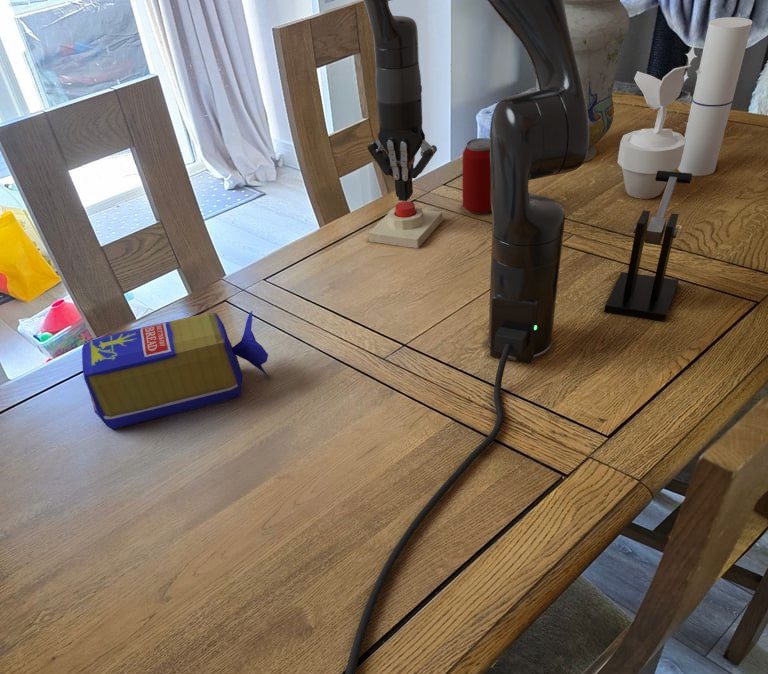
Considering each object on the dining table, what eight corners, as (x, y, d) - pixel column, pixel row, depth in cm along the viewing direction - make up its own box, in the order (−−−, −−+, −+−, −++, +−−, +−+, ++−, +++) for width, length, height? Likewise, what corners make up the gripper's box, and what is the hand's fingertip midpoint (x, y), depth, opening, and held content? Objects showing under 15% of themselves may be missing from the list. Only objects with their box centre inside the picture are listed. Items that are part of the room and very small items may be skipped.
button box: (417, 248, 127) (417, 229, 125) (369, 241, 131) (367, 223, 128) (442, 220, 134) (442, 202, 132) (396, 214, 138) (394, 196, 135)
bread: (100, 397, 103) (72, 336, 95) (264, 357, 106) (249, 295, 99) (102, 438, 96) (72, 376, 88) (277, 393, 100) (262, 330, 92)
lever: (656, 179, 107) (658, 165, 105) (690, 182, 105) (693, 168, 103) (634, 241, 103) (636, 229, 101) (669, 246, 101) (672, 233, 99)
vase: (622, 145, 153) (648, -24, 132) (592, 175, 144) (616, -2, 122) (545, 135, 161) (558, -26, 139) (512, 163, 151) (521, -6, 129)
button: (410, 220, 129) (409, 210, 127) (392, 217, 130) (392, 208, 129) (418, 211, 131) (417, 202, 129) (400, 209, 132) (400, 200, 131)
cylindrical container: (677, 175, 140) (709, 27, 122) (677, 161, 145) (708, 17, 127) (715, 176, 138) (753, 26, 120) (714, 162, 143) (751, 16, 125)
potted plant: (687, 196, 133) (723, 43, 115) (636, 210, 131) (664, 56, 113) (646, 175, 141) (674, 29, 123) (597, 188, 139) (618, 40, 121)
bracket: (620, 278, 114) (634, 199, 105) (677, 286, 111) (697, 206, 102) (604, 312, 108) (617, 231, 98) (664, 321, 104) (684, 239, 95)
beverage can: (496, 200, 139) (499, 135, 130) (497, 215, 134) (499, 149, 125) (462, 201, 140) (463, 137, 131) (462, 216, 135) (462, 150, 126)
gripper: (353, 99, 116) (363, 203, 128) (426, 103, 111) (429, 211, 124) (373, 85, 120) (381, 187, 133) (444, 89, 116) (445, 194, 128)
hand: (404, 199), depth 128 cm, fingers closed
